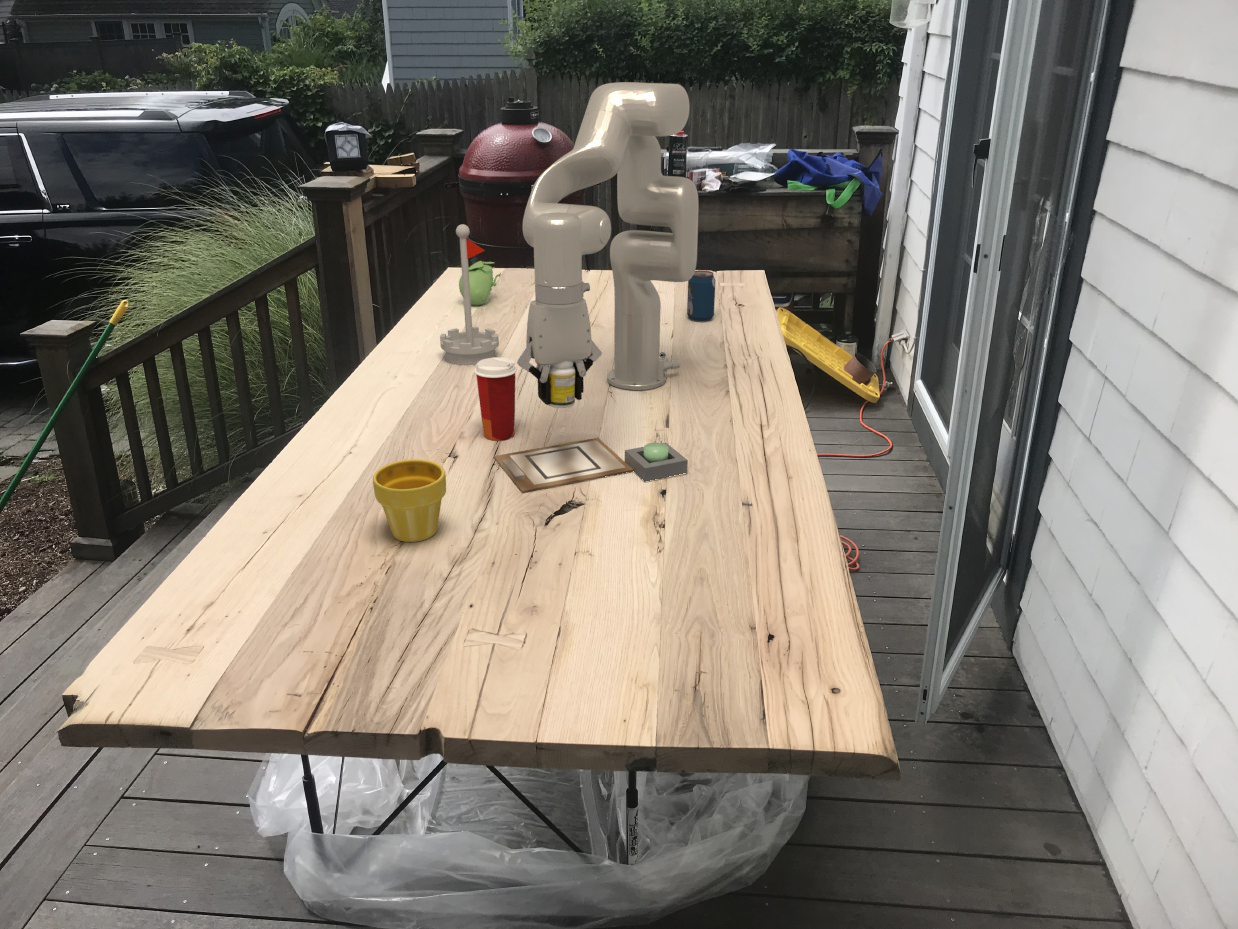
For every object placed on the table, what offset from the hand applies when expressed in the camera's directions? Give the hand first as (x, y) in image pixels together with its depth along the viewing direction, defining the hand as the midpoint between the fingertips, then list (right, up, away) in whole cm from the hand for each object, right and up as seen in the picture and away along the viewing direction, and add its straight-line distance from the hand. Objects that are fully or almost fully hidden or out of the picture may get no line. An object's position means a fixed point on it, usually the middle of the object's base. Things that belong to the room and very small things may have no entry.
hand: (561, 398), depth 159 cm
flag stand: (-24, +13, +57) cm, 63 cm away
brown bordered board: (0, -11, +5) cm, 12 cm away
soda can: (+31, +26, +86) cm, 95 cm away
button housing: (+16, -12, +4) cm, 20 cm away
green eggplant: (-27, +33, +99) cm, 107 cm away
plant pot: (-21, -21, -16) cm, 34 cm away
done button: (+16, -10, +3) cm, 19 cm away
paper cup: (-13, -6, +17) cm, 22 cm away
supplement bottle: (0, -1, 0) cm, 1 cm away
